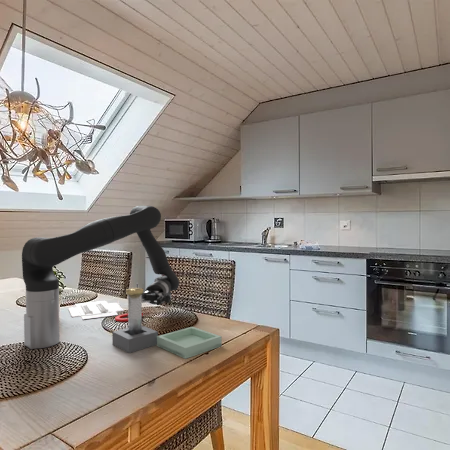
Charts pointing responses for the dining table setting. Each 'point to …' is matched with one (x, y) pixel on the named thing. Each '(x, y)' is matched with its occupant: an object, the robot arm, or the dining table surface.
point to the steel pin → (134, 310)
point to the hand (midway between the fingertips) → (145, 302)
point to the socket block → (134, 339)
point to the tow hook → (119, 317)
